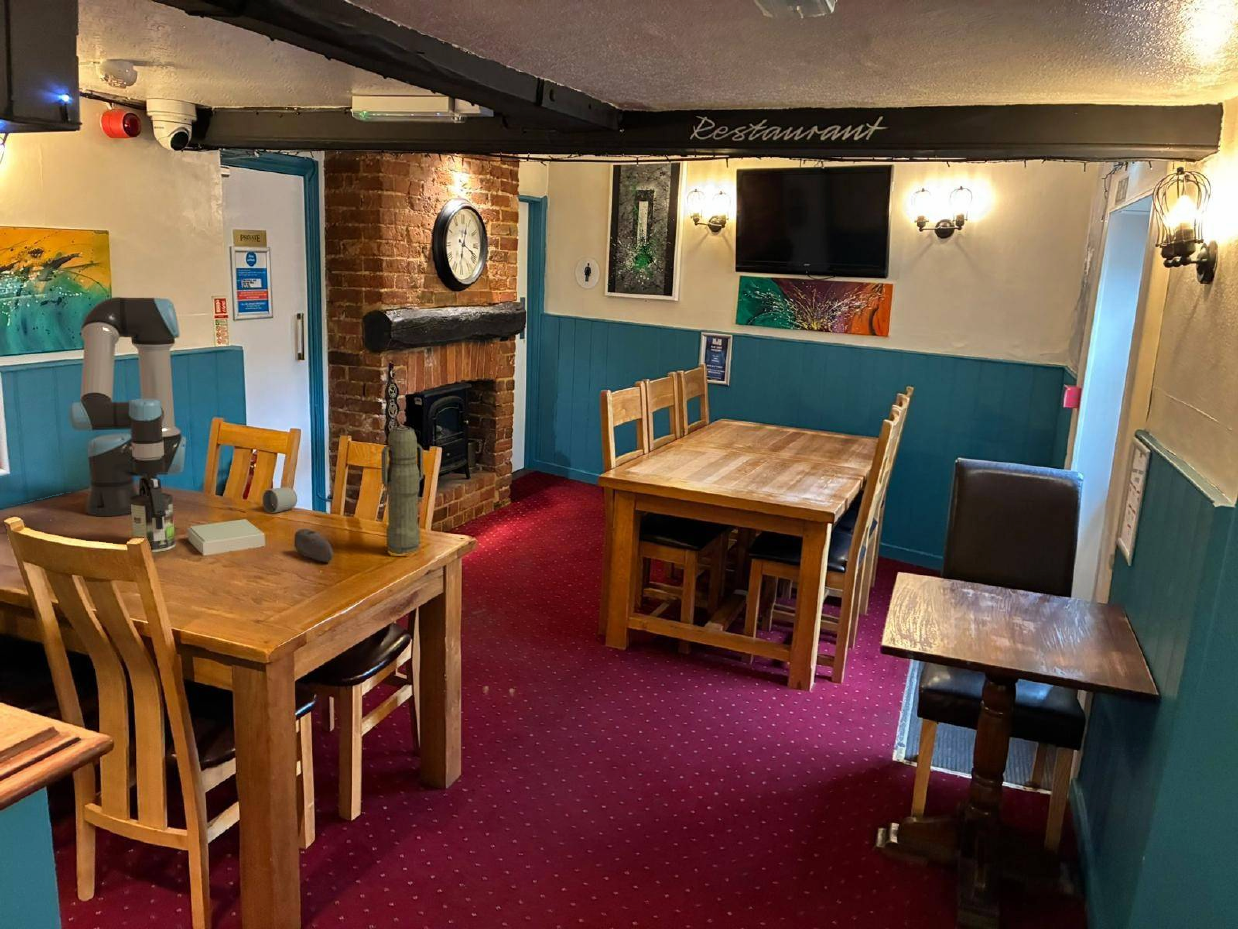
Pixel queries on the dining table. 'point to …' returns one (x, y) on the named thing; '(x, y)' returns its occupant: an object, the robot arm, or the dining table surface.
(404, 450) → the thermos
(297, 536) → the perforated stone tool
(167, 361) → the robot arm
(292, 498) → the grey cylinder
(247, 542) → the plinth
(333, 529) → the dining table surface
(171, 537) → the coffee can
